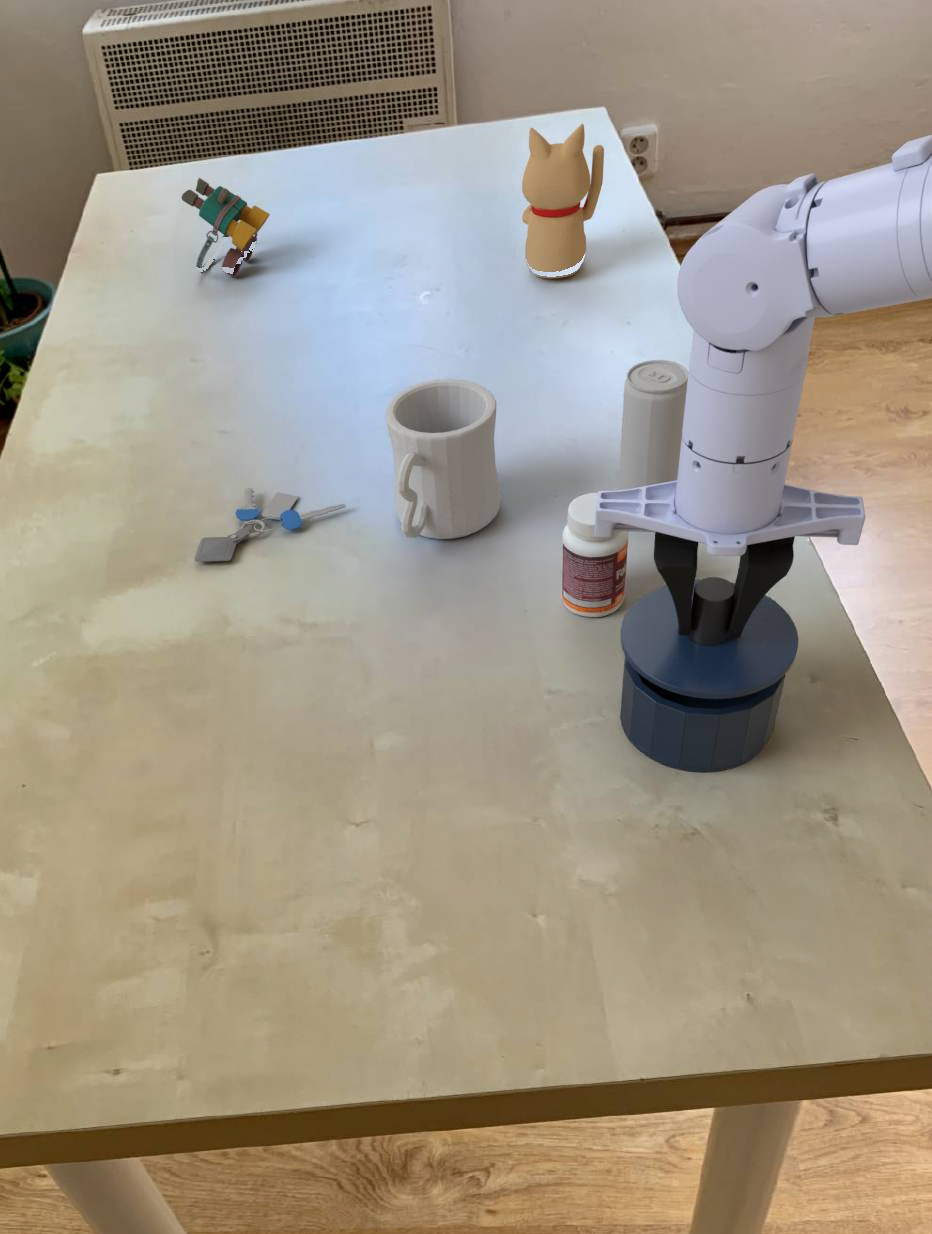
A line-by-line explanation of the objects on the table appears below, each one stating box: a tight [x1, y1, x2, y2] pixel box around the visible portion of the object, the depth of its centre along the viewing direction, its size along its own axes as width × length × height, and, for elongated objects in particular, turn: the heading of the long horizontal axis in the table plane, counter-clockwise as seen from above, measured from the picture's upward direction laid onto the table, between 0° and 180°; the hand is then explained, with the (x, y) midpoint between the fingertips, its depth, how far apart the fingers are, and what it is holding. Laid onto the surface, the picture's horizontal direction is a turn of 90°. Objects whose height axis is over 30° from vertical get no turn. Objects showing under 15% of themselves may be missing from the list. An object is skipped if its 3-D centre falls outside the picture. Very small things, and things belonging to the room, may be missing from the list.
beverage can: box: [617, 359, 689, 490], centre depth 87 cm, size 5×5×12 cm
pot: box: [619, 656, 787, 773], centre depth 73 cm, size 10×10×5 cm
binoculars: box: [181, 177, 271, 279], centre depth 130 cm, size 9×9×10 cm
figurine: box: [521, 123, 605, 279], centre depth 117 cm, size 9×10×15 cm
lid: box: [619, 576, 799, 699], centre depth 68 cm, size 11×11×5 cm
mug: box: [384, 378, 502, 540], centre depth 89 cm, size 12×9×10 cm
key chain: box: [194, 487, 347, 563], centre depth 96 cm, size 14×8×1 cm, turn 121°
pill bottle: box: [560, 492, 629, 618], centre depth 81 cm, size 5×5×8 cm
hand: (708, 626), depth 68 cm, fingers closed on lid, 2 cm apart
